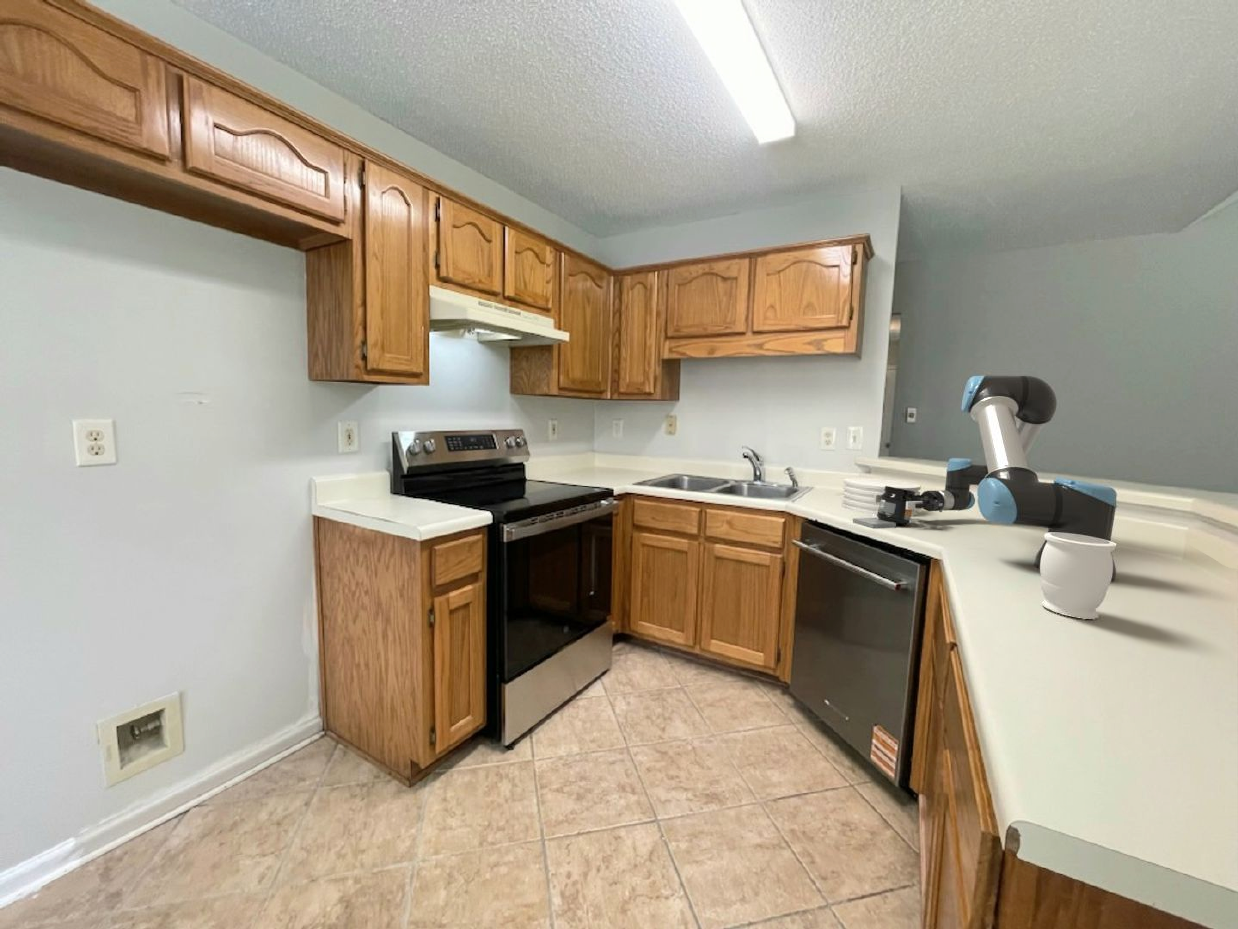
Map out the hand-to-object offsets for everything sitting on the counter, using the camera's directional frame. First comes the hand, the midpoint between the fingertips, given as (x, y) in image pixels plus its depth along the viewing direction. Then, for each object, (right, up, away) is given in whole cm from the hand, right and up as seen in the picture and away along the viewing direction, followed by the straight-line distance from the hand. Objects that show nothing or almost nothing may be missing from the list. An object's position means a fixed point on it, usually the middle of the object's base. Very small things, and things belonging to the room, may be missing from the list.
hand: (890, 501), depth 173 cm
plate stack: (+12, -6, +30) cm, 33 cm away
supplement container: (+1, -7, +1) cm, 8 cm away
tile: (-2, -7, 0) cm, 8 cm away
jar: (-7, -16, -76) cm, 78 cm away
